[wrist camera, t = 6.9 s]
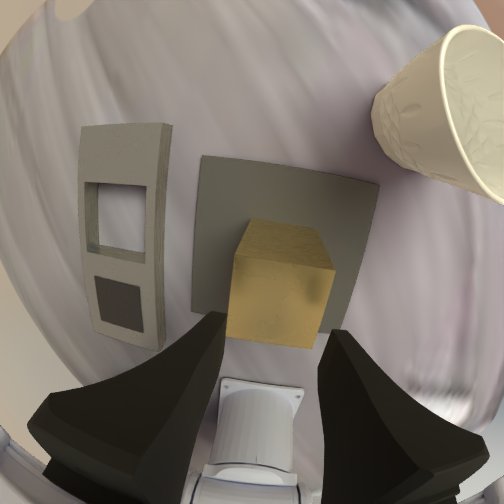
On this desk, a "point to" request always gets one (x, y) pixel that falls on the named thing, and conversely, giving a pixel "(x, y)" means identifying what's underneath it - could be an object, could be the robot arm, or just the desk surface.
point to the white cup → (449, 112)
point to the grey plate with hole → (118, 260)
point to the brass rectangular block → (279, 285)
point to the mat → (278, 210)
